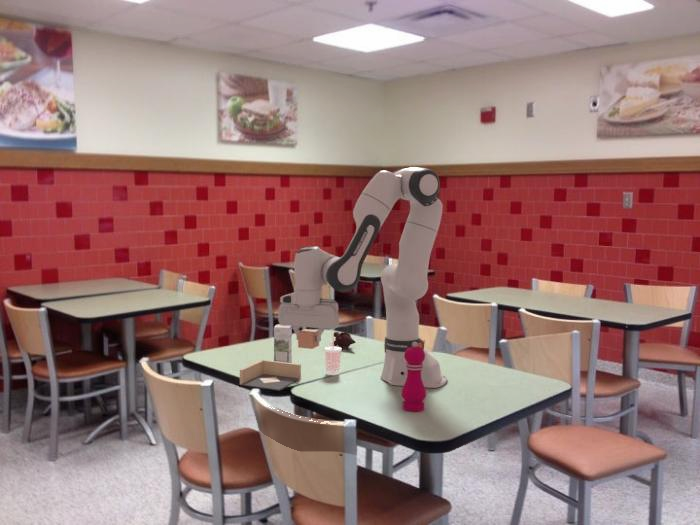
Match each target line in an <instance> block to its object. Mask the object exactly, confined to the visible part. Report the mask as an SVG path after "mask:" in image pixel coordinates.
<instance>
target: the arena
mask: <svg viewBox="0 0 700 525" xmlns="http://www.w3.org/2000/svg"><path fill="white" fill-rule="evenodd" d="M301 379H302V364H300V363H293V362H291V363H285V362H277V361H274V360H267V359H260V360H259V361H256V362H254V363H252V364H249V365H247V366H245V367H243V368H241V369H239V385H240V386H243V387H250V388H257V389H262V390H264V389H265V390H271V391H277V392H280V391H282V390H284V389H285V388H287V387H289V386H291V385H292V383H293V384H294V383H296V382H297V381H298V382H299V381H300V380H301ZM295 381H296V382H295ZM290 384H291V385H290ZM288 385H289V386H288Z"/></svg>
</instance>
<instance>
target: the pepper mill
mask: <svg viewBox="0 0 700 525" xmlns="http://www.w3.org/2000/svg"><path fill="white" fill-rule="evenodd" d="M412 346H413V347H409V348H408V349H407V350H406V351H405V354H404V358H405V360H406V361H407V363H406V368H407V371H408V373H407V379H406V382H405V384H404V386H402V389H401V397H402V400H404V401H403V402H402V409H403V410H404V411H406V412H410V413H412V412H413V413H418V412H423V411H424V410H425V402H424V401H425V399H426V397H427V389H426V387H424V385H423V382H422V379H421V370H422V369H423V363H422V362H423V361H424V359H425V353H424V351H423V349H421V348H419V347H417V346H418V343H417V342H413V343H412Z"/></svg>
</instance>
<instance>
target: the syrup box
mask: <svg viewBox="0 0 700 525" xmlns="http://www.w3.org/2000/svg"><path fill="white" fill-rule="evenodd" d="M292 336H293V326H289V325H281V324H280V323H277V324H275V326H273V361H277V362H285V363H293V361H292V360H293V359H292V358H293V357H292V354H293V353H292V346H293V345H292V344H293V342H292V341H293V340H292Z"/></svg>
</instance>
